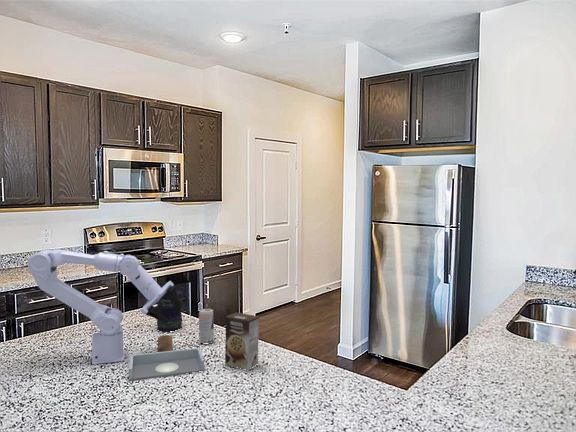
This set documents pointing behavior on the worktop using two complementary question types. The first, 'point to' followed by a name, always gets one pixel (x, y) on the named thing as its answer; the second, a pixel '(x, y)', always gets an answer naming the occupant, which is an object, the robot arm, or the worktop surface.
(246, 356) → the coffee box
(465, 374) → the worktop surface
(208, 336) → the energy drink
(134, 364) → the grey tray
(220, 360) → the worktop surface
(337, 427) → the worktop surface
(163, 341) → the brown cylinder
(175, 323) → the storage jar
